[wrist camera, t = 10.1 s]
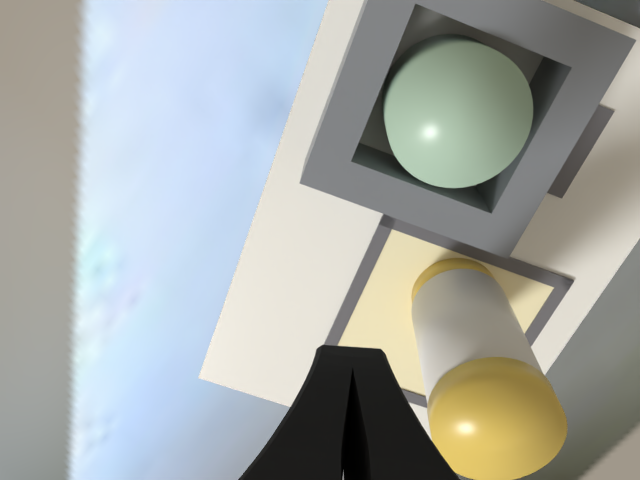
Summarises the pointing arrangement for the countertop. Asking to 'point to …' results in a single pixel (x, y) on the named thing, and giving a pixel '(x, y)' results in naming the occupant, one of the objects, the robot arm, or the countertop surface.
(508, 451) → the two-tone rounded cylinder
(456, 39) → the button
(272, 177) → the board
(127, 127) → the countertop surface
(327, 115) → the button housing
